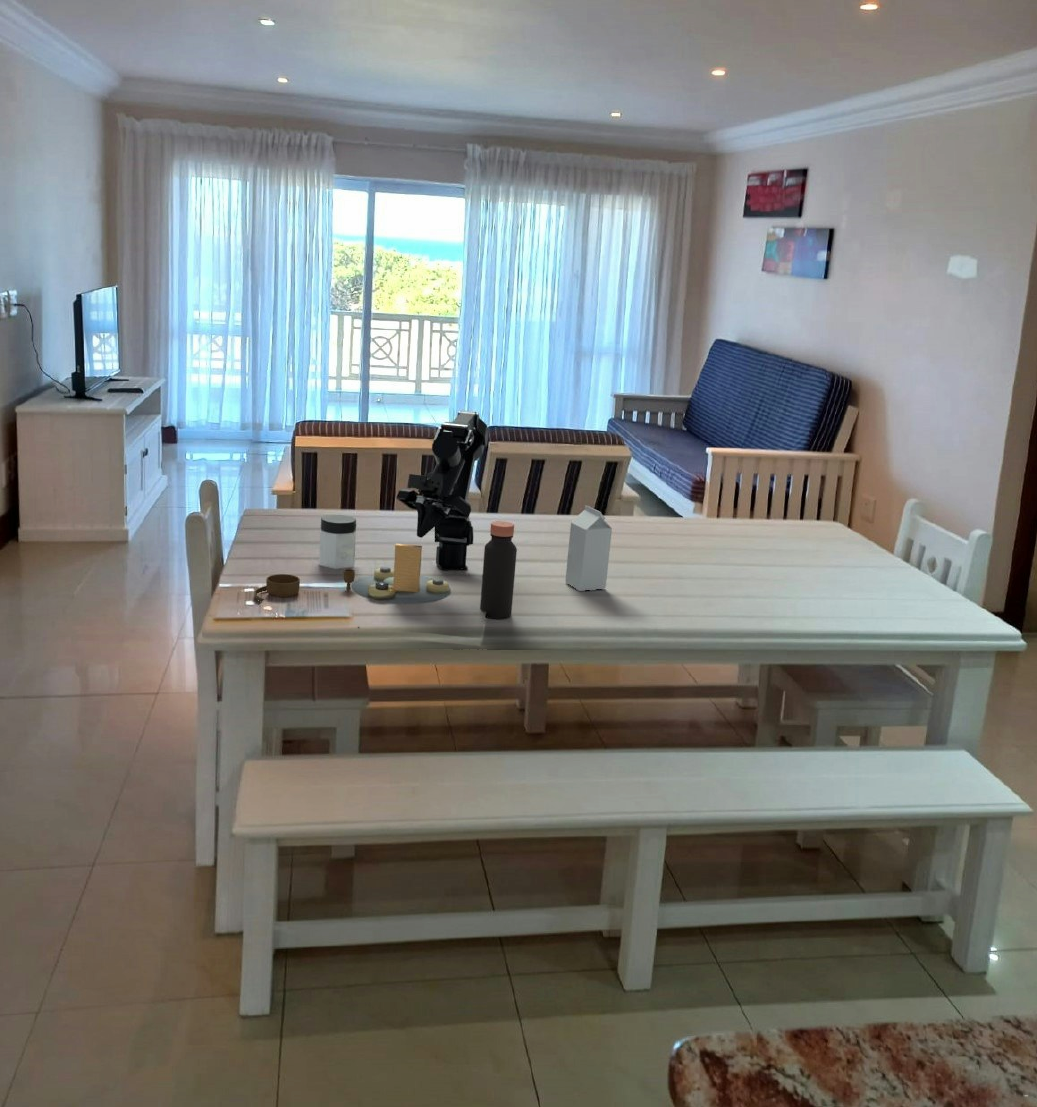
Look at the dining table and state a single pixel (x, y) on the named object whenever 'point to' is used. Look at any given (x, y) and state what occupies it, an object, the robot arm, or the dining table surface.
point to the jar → (337, 541)
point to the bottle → (498, 571)
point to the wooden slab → (401, 573)
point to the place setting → (292, 584)
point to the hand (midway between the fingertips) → (419, 536)
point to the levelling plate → (427, 591)
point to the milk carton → (588, 551)
